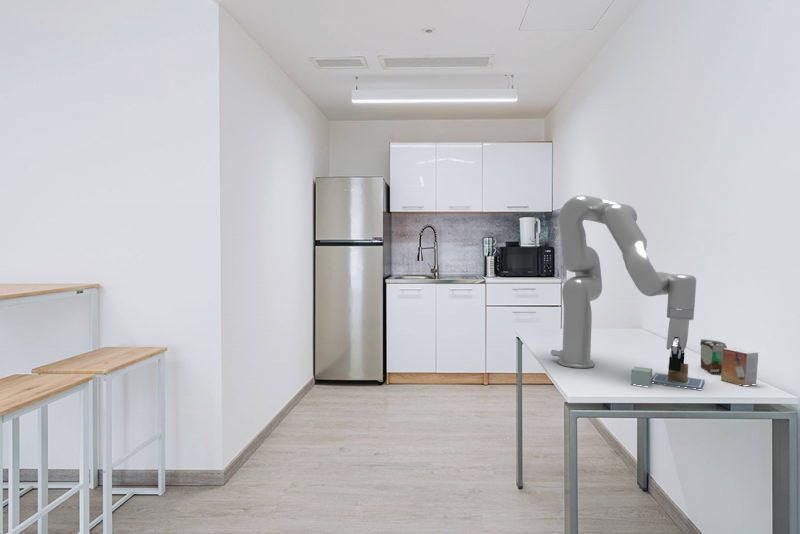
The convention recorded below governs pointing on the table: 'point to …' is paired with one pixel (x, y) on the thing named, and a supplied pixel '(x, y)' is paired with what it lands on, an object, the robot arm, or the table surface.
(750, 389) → the table surface
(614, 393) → the table surface
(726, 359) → the small box
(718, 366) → the food container
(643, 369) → the sage block
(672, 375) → the walnut block
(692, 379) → the board
